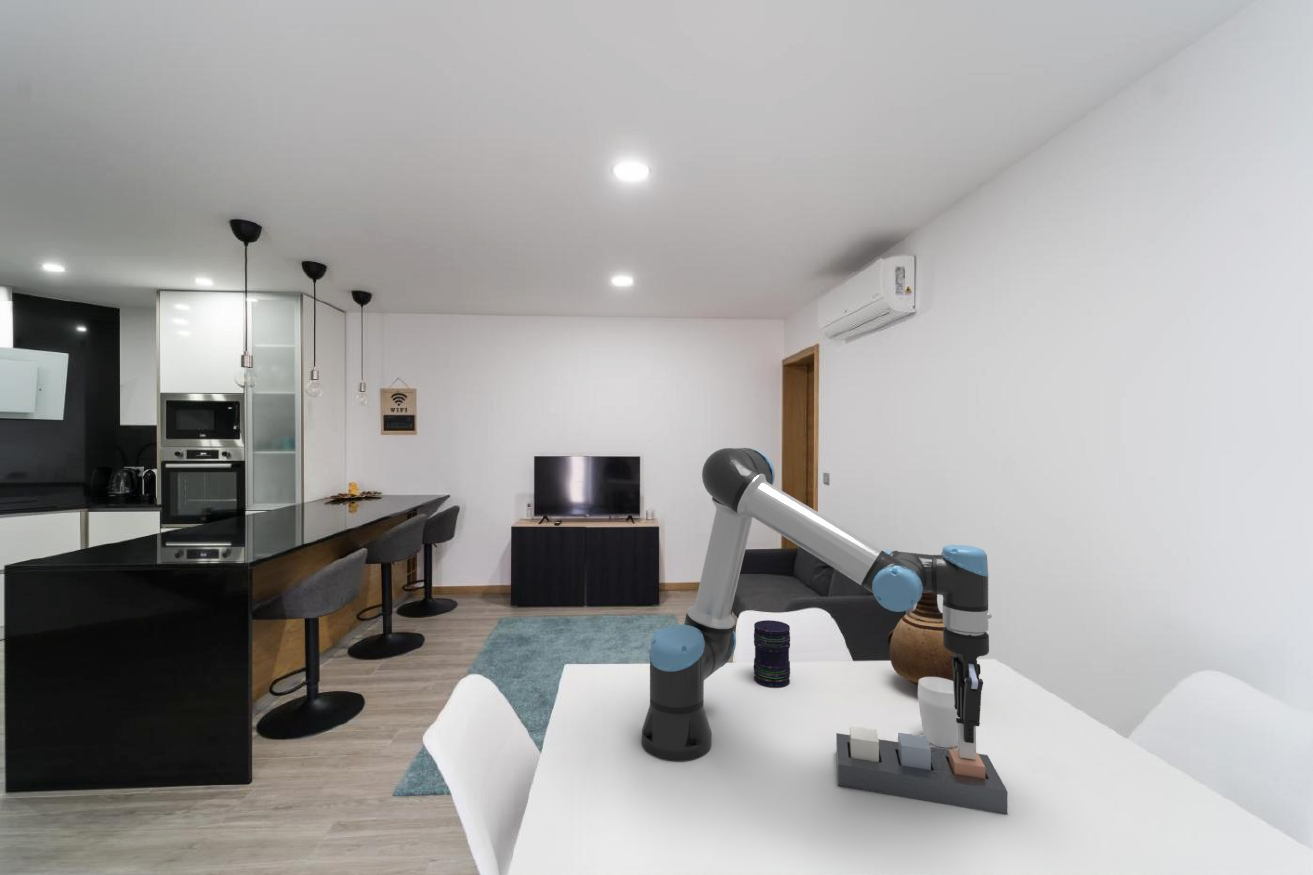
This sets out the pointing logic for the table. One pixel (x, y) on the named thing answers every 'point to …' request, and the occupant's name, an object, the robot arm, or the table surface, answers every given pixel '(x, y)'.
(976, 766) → the terracotta key
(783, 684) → the storage jar
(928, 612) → the vase
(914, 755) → the slate key
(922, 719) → the cup
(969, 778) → the panel
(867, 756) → the ivory key
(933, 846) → the table surface
